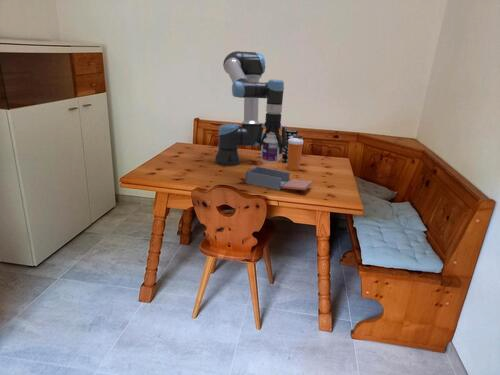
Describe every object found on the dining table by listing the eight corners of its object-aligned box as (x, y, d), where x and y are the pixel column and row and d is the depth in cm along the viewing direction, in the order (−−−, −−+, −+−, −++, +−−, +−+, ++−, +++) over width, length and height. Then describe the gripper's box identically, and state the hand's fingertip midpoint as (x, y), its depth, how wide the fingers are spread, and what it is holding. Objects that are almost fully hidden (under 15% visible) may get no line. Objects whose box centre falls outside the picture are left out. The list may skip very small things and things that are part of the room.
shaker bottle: (300, 171, 204) (303, 137, 198) (284, 169, 206) (288, 136, 199) (300, 167, 213) (304, 135, 206) (286, 165, 214) (289, 133, 207)
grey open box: (245, 182, 179) (245, 171, 177) (256, 176, 190) (257, 166, 188) (279, 190, 171) (280, 178, 169) (288, 183, 182) (290, 172, 180)
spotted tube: (296, 161, 226) (299, 130, 219) (293, 164, 219) (296, 132, 212) (283, 159, 228) (286, 129, 222) (280, 162, 221) (283, 131, 214)
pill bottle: (261, 159, 180) (263, 131, 175) (276, 160, 181) (278, 132, 176) (263, 163, 172) (265, 134, 167) (279, 164, 173) (281, 135, 168)
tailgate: (280, 185, 170) (304, 188, 164) (290, 178, 181) (313, 180, 176) (280, 187, 170) (304, 190, 165) (290, 180, 182) (313, 182, 176)
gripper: (250, 111, 169) (248, 156, 177) (291, 116, 161) (286, 163, 168) (257, 110, 176) (254, 154, 183) (296, 114, 167) (292, 160, 175)
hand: (270, 158), depth 176 cm, fingers closed on pill bottle, 8 cm apart
